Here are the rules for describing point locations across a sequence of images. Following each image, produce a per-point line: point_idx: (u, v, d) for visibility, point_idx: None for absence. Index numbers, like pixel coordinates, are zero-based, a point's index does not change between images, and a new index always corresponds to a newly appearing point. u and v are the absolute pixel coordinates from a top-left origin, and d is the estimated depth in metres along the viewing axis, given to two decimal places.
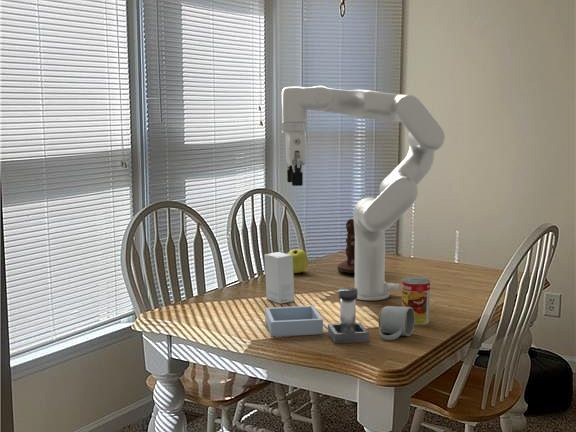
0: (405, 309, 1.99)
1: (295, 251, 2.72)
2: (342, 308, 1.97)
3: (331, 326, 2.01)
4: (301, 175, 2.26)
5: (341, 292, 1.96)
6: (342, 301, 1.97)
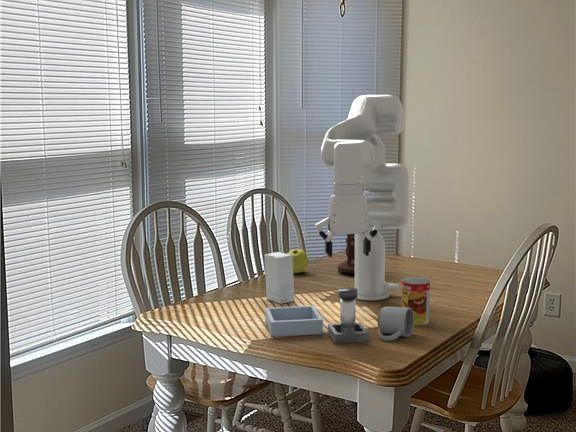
0: (404, 310, 1.98)
1: (295, 251, 2.72)
2: (342, 308, 1.97)
3: (331, 326, 2.01)
4: None
5: (341, 292, 1.96)
6: (342, 301, 1.97)
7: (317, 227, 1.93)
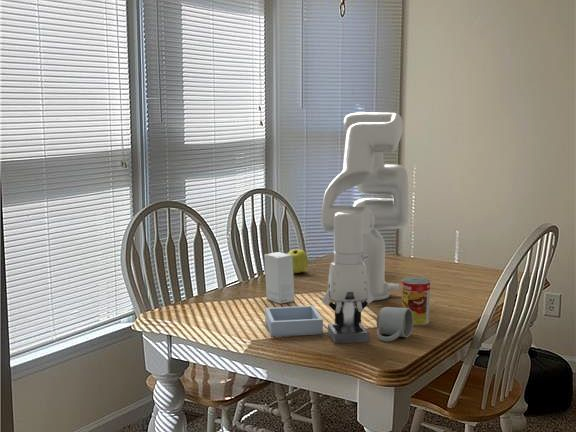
0: (403, 310, 1.98)
1: (295, 251, 2.72)
2: (342, 307, 1.97)
3: (331, 326, 2.01)
4: None
5: None
6: None
7: (324, 302, 1.97)
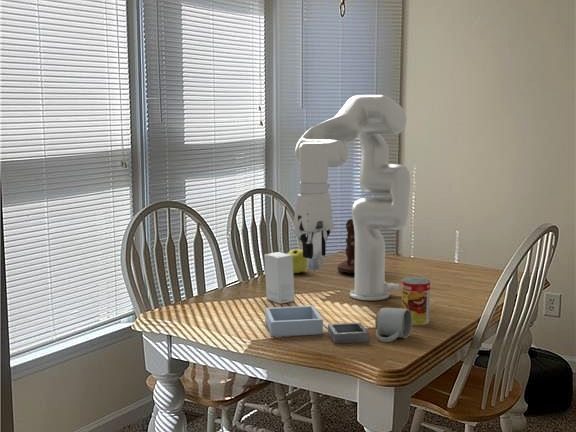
0: (402, 311, 1.97)
1: (295, 251, 2.72)
2: (312, 238, 1.99)
3: (331, 326, 2.01)
4: None
5: None
6: None
7: (297, 234, 1.96)
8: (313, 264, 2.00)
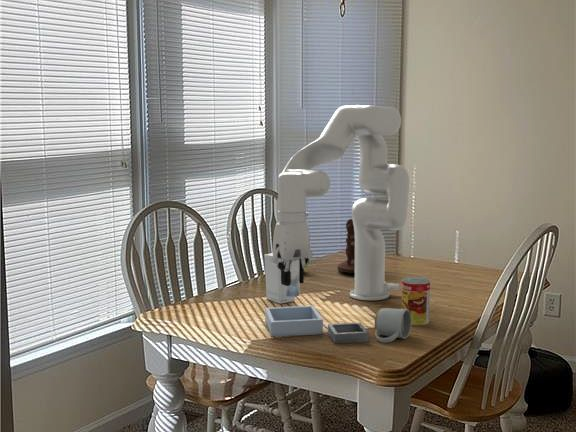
0: (401, 311, 1.97)
1: None
2: (290, 266, 2.04)
3: (331, 326, 2.01)
4: None
5: None
6: None
7: (275, 262, 2.01)
8: (291, 292, 2.05)
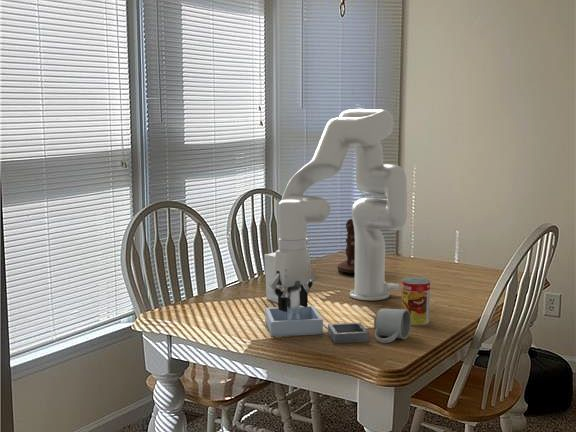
0: (401, 312, 1.97)
1: None
2: (290, 297, 2.05)
3: (331, 326, 2.01)
4: None
5: None
6: (289, 291, 2.05)
7: (273, 287, 2.02)
8: None
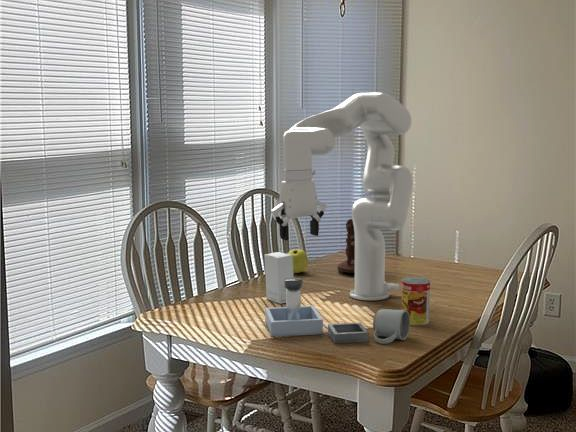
0: (400, 312, 1.96)
1: (295, 251, 2.72)
2: (291, 297, 2.05)
3: (331, 326, 2.01)
4: None
5: (290, 282, 2.04)
6: (290, 291, 2.05)
7: (274, 213, 2.02)
8: None
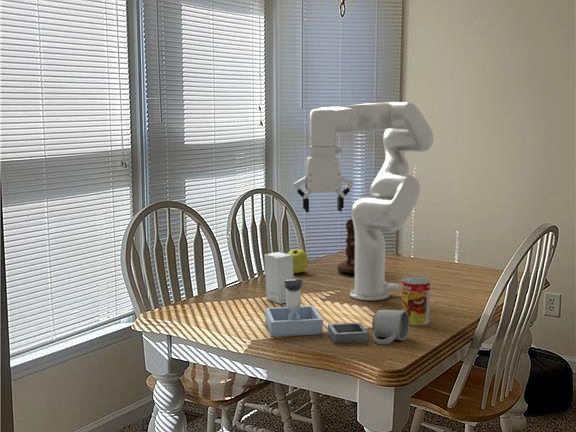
0: (399, 313, 1.96)
1: (295, 251, 2.72)
2: (291, 297, 2.05)
3: (331, 326, 2.01)
4: None
5: (290, 282, 2.04)
6: (290, 291, 2.05)
7: (295, 185, 2.15)
8: None
